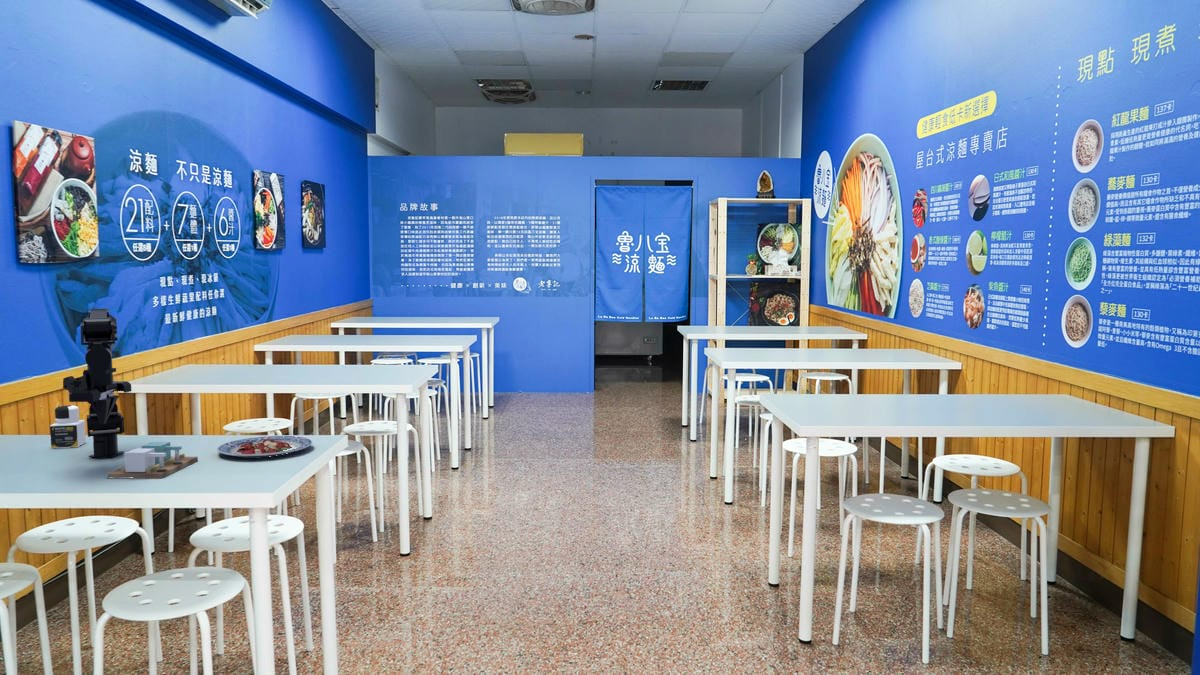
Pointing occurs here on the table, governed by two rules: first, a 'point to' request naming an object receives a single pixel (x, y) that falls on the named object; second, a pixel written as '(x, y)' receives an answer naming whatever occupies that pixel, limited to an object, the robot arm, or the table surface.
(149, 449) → the fixed leg
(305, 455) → the table surface
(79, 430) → the medicine bottle
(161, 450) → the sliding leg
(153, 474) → the board
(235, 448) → the ceramic plate
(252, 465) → the table surface
